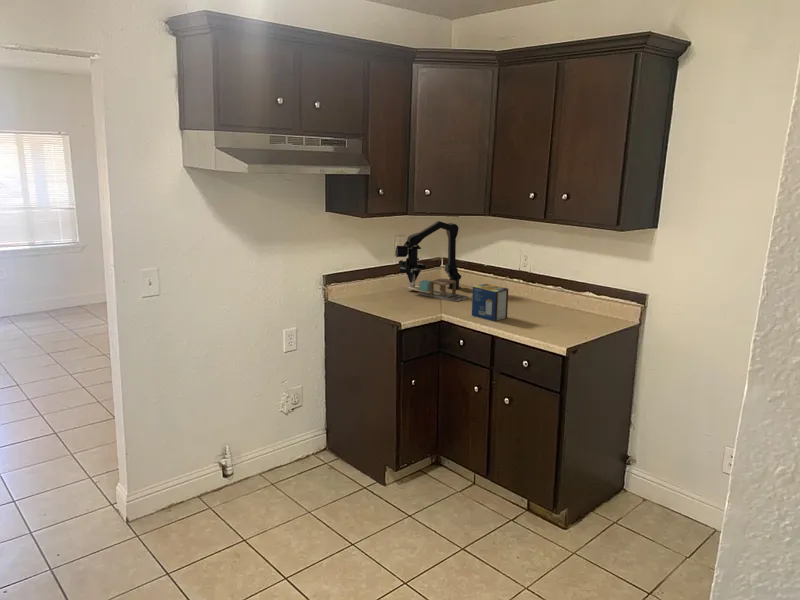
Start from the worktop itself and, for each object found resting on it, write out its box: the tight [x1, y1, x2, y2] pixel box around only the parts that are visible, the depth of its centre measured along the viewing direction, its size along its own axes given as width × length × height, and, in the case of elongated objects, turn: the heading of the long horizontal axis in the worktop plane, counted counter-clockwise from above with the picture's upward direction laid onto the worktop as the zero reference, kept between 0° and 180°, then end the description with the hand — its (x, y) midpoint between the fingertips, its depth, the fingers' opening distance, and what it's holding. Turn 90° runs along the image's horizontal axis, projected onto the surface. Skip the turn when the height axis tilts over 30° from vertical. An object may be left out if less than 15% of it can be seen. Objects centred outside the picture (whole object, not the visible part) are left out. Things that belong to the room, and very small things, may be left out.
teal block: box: [418, 279, 431, 291], centre depth 368 cm, size 6×6×5 cm
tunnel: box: [417, 277, 469, 302], centre depth 361 cm, size 12×27×9 cm, turn 51°
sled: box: [406, 274, 447, 295], centre depth 368 cm, size 8×24×9 cm, turn 51°
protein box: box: [471, 283, 509, 322], centre depth 318 cm, size 10×15×16 cm
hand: (412, 282), depth 375 cm, fingers closed on sled, 3 cm apart
